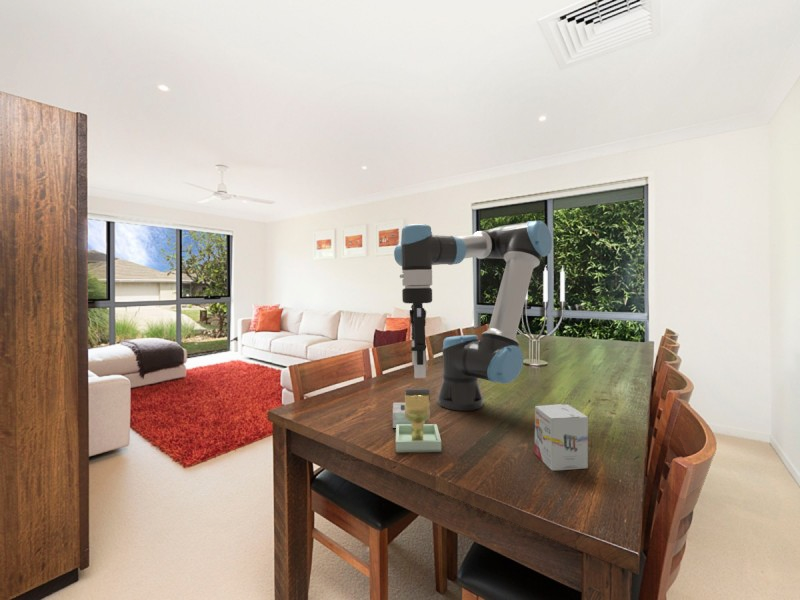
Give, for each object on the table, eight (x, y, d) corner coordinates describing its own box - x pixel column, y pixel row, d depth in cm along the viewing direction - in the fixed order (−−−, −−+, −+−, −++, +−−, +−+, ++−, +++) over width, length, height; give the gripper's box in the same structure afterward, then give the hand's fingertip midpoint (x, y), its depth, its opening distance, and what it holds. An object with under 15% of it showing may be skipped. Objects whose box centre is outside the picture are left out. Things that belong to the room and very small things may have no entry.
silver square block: (422, 417, 109) (422, 402, 109) (424, 428, 100) (424, 413, 100) (393, 417, 109) (393, 402, 109) (392, 428, 100) (392, 413, 100)
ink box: (533, 452, 86) (533, 404, 85) (567, 451, 87) (568, 402, 86) (551, 471, 77) (551, 417, 77) (589, 469, 78) (589, 415, 78)
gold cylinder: (404, 434, 95) (404, 385, 94) (428, 434, 95) (428, 385, 94) (405, 445, 89) (405, 393, 88) (431, 445, 89) (431, 393, 88)
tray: (436, 433, 97) (436, 424, 97) (441, 452, 86) (441, 441, 86) (396, 433, 97) (396, 424, 97) (395, 452, 86) (395, 442, 86)
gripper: (401, 286, 103) (403, 360, 104) (402, 288, 78) (404, 384, 79) (428, 286, 103) (429, 359, 104) (437, 287, 78) (438, 384, 79)
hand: (418, 370), depth 91 cm, fingers open, 13 cm apart
